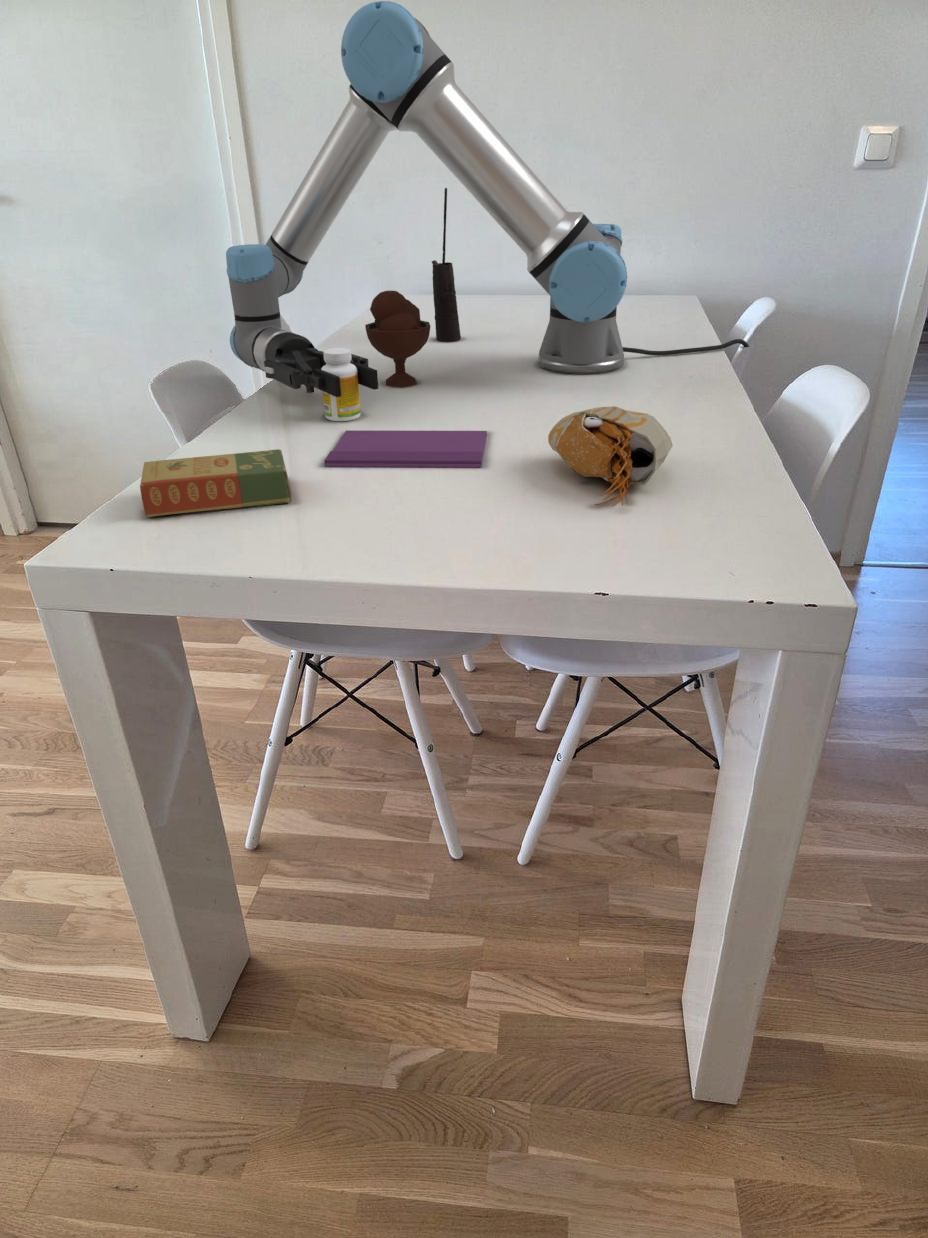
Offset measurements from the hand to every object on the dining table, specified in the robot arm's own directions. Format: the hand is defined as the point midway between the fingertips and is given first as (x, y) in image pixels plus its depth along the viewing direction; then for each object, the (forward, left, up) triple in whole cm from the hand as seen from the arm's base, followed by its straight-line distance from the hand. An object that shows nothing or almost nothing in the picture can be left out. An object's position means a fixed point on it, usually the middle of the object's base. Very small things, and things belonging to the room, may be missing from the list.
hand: (356, 383), depth 120 cm
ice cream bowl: (-3, -24, -6) cm, 25 cm away
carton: (+11, +29, -6) cm, 32 cm away
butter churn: (-7, -60, -6) cm, 61 cm away
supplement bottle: (+3, -4, -6) cm, 8 cm away
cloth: (-9, +11, -6) cm, 15 cm away
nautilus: (-34, +23, -6) cm, 41 cm away
